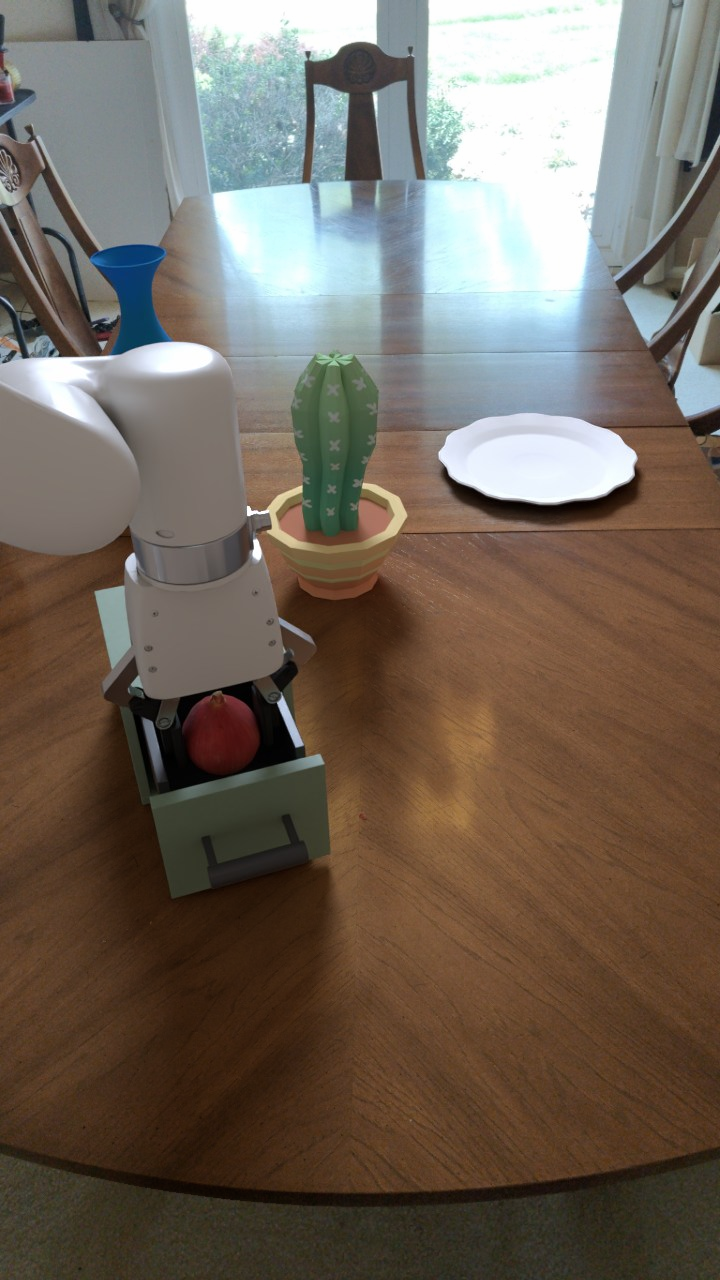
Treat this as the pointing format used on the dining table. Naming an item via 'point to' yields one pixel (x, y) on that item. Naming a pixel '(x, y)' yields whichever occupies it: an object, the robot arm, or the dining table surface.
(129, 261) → the vase
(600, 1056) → the dining table surface
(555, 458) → the plate
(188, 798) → the drawer
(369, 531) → the potted cactus
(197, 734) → the onion
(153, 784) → the cabinet
